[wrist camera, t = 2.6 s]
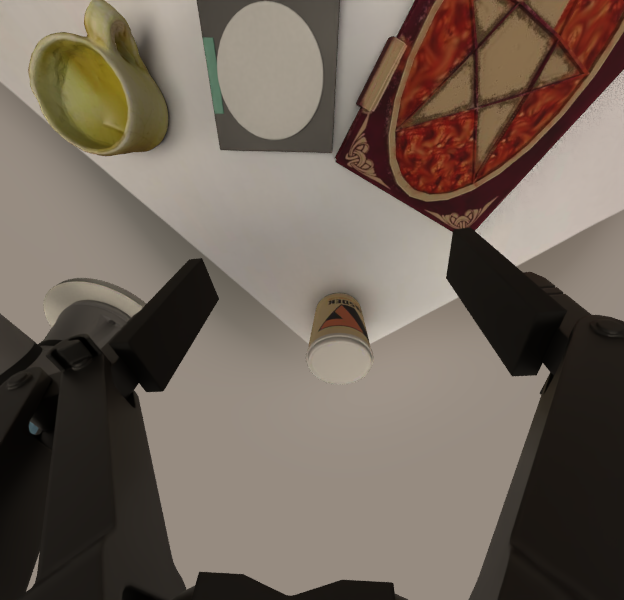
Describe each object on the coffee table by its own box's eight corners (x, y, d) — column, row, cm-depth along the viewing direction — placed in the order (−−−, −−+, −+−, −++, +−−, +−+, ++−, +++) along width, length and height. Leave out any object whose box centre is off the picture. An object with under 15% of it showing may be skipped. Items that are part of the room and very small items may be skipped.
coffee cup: (374, 297, 45) (386, 350, 35) (353, 337, 50) (357, 392, 40) (321, 281, 44) (317, 331, 34) (304, 323, 49) (297, 376, 39)
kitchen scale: (227, 147, 34) (217, 150, 31) (204, -7, 26) (189, -20, 23) (332, 150, 33) (332, 153, 30) (340, -7, 26) (340, -21, 23)
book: (459, 232, 38) (475, 247, 34) (329, 154, 33) (329, 161, 29) (708, -48, 23) (790, -80, 19) (538, -270, 18) (599, -377, 14)
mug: (155, 186, 35) (80, 168, 25) (96, 125, 34) (-5, 84, 25) (213, 104, 32) (150, 49, 22) (148, 35, 31) (54, -53, 21)
